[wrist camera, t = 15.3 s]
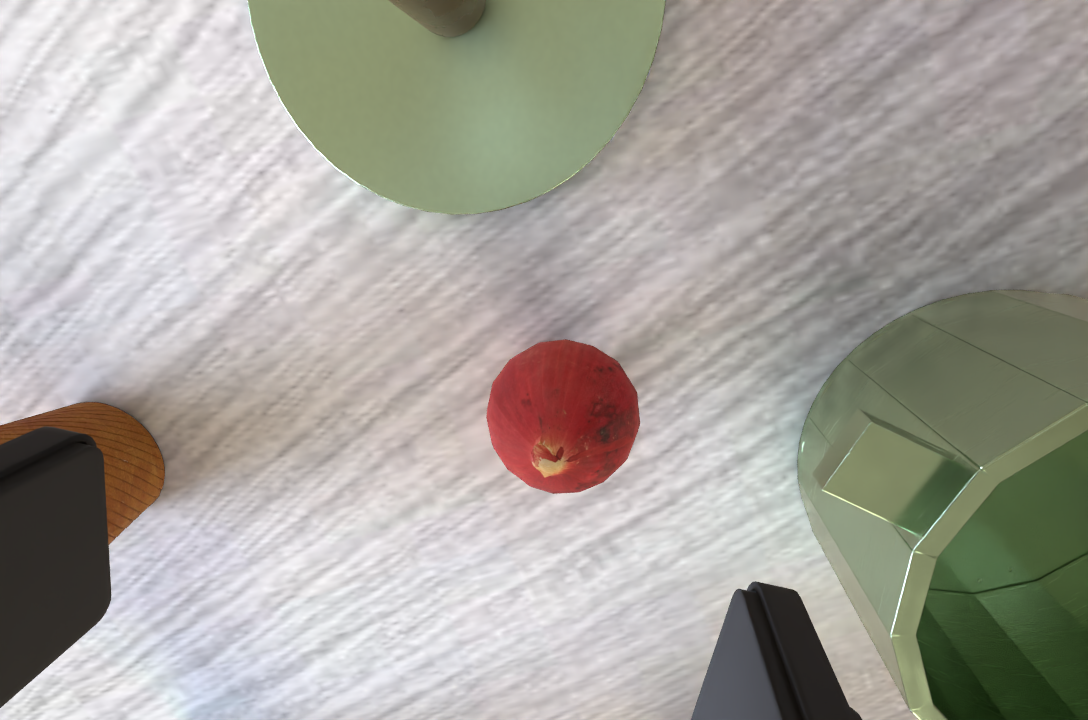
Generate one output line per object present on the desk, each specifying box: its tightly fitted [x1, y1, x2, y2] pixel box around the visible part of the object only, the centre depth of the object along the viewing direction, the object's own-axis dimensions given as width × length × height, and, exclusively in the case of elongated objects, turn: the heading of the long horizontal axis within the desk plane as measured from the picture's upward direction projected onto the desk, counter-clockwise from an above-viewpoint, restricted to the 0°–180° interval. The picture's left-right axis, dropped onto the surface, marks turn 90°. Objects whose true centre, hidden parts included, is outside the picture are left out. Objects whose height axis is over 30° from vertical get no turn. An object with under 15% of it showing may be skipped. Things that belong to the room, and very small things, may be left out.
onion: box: [487, 339, 640, 494], centre depth 23 cm, size 6×6×8 cm
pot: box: [797, 290, 1088, 720], centre depth 21 cm, size 14×20×10 cm
